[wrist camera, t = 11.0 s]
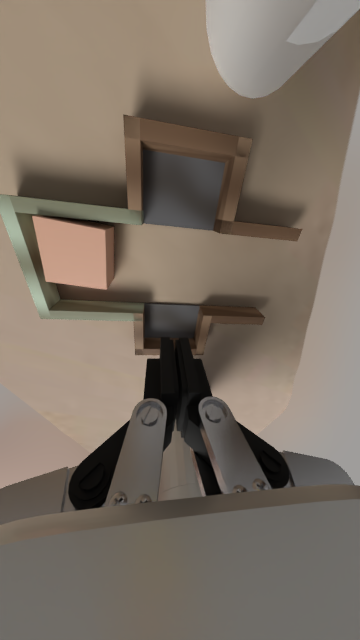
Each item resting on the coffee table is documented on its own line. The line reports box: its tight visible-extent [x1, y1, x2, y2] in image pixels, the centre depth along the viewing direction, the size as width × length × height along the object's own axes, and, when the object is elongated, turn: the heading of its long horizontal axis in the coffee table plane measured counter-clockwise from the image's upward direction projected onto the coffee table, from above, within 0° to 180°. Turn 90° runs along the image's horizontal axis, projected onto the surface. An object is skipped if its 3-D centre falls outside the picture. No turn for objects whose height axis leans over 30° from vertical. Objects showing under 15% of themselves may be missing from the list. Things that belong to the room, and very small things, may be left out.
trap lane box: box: [0, 115, 302, 355], centre depth 21 cm, size 24×29×3 cm
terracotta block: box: [32, 215, 114, 290], centre depth 19 cm, size 6×6×4 cm
